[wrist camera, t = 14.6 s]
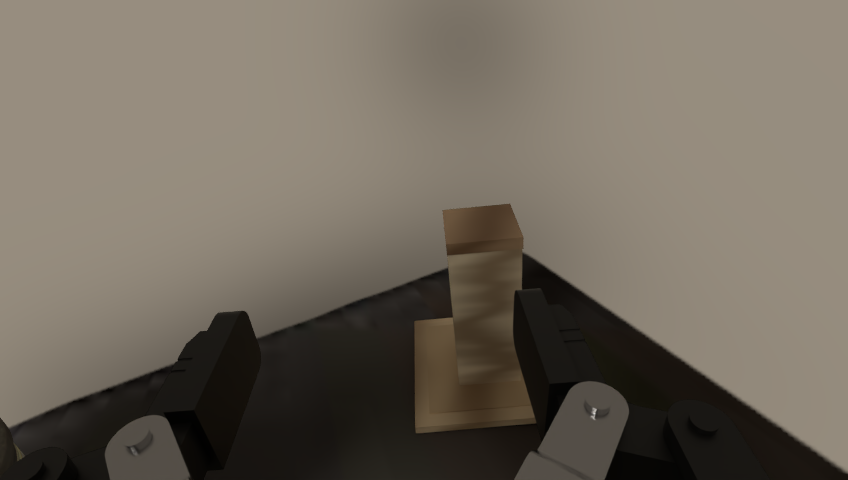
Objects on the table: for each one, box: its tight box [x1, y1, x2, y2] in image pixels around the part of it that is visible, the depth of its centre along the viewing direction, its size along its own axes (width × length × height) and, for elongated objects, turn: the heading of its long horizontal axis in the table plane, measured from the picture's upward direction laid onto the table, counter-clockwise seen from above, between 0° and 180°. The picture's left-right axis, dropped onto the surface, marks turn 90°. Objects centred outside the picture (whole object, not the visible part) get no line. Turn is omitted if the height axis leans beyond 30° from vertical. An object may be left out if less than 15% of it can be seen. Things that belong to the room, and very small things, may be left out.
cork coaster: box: [414, 318, 536, 433], centre depth 36 cm, size 11×11×1 cm
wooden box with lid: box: [443, 204, 523, 385], centre depth 32 cm, size 5×5×12 cm
